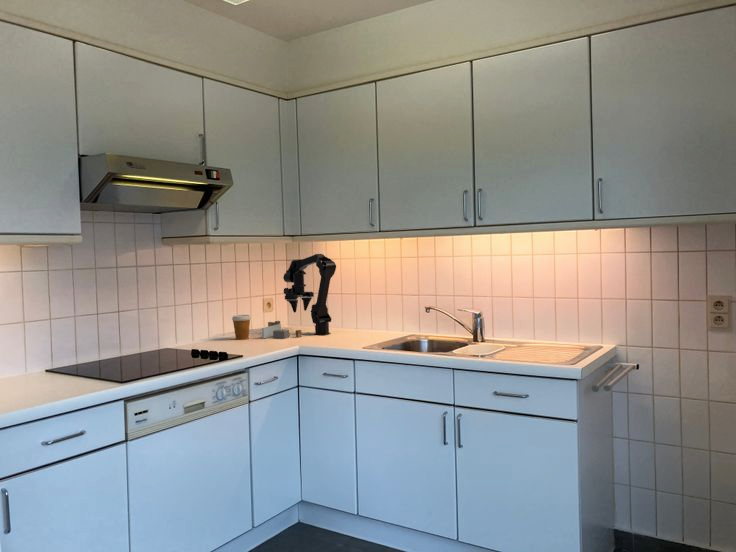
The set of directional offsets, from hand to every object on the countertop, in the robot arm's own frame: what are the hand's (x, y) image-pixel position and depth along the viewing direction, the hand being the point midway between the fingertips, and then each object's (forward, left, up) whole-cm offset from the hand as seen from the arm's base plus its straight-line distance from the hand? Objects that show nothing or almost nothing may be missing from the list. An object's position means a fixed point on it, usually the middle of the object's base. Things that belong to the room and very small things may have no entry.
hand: (300, 311), depth 345 cm
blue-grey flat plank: (+4, +20, -11) cm, 23 cm away
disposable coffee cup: (+14, +31, -11) cm, 36 cm away
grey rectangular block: (-4, +21, -11) cm, 25 cm away
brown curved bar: (+1, +13, -11) cm, 17 cm away
